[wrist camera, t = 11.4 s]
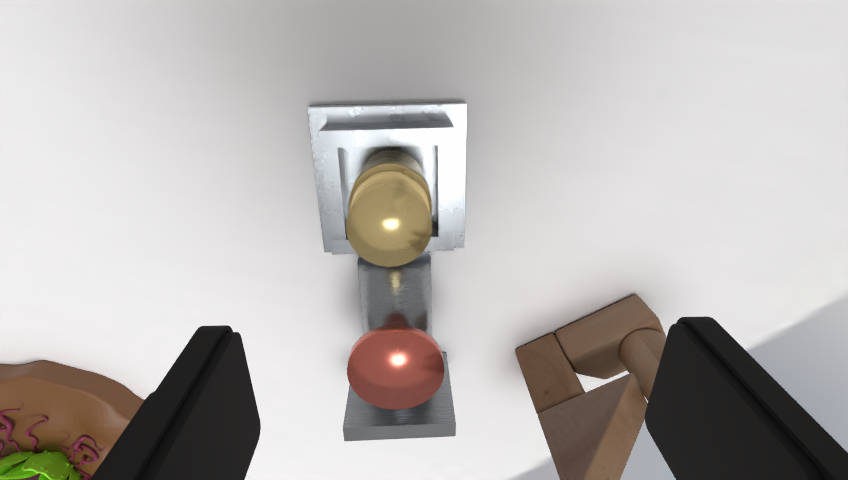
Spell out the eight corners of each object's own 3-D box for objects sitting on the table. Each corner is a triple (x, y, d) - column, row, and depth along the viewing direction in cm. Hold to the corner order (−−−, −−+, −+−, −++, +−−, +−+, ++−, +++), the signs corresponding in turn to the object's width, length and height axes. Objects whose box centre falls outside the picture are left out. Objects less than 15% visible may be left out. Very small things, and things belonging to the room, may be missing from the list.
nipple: (353, 147, 30) (337, 185, 22) (427, 146, 30) (435, 182, 23) (358, 217, 32) (346, 271, 24) (427, 215, 32) (435, 268, 24)
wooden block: (513, 348, 38) (595, 585, 22) (635, 291, 36) (827, 502, 20) (530, 378, 39) (621, 622, 23) (649, 324, 38) (840, 547, 21)
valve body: (310, 105, 29) (278, 129, 22) (464, 101, 30) (485, 123, 22) (340, 368, 38) (325, 449, 31) (460, 363, 38) (474, 442, 31)
